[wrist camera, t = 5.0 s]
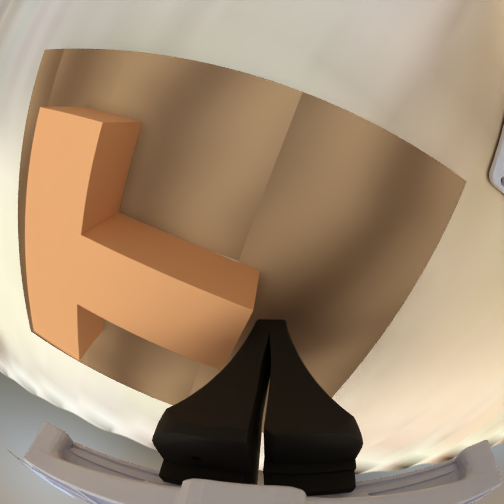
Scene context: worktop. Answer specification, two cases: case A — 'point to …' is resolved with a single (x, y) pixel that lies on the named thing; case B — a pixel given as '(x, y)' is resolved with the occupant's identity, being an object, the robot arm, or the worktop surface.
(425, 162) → the board
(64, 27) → the worktop surface
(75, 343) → the t block
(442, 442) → the worktop surface
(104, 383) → the worktop surface
